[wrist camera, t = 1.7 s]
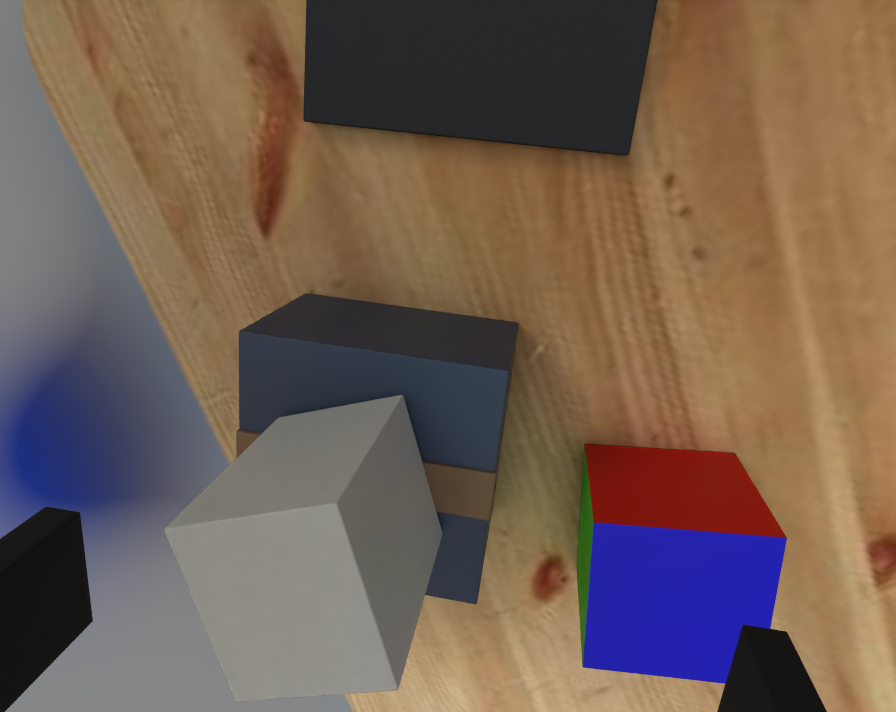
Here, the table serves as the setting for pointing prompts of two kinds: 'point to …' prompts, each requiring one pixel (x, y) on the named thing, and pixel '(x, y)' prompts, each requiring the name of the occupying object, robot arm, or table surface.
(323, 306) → the storage box
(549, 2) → the mat
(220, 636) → the white box
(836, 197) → the table surface
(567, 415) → the table surface
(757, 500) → the cube
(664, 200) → the table surface
